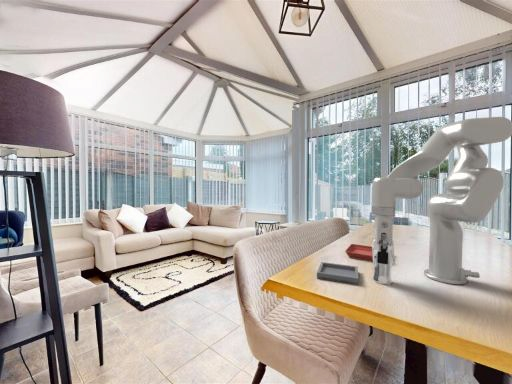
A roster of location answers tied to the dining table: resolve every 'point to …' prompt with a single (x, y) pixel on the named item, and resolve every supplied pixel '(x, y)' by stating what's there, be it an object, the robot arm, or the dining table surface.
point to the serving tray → (338, 273)
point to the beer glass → (382, 265)
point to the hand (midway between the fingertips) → (380, 259)
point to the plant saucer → (359, 252)
